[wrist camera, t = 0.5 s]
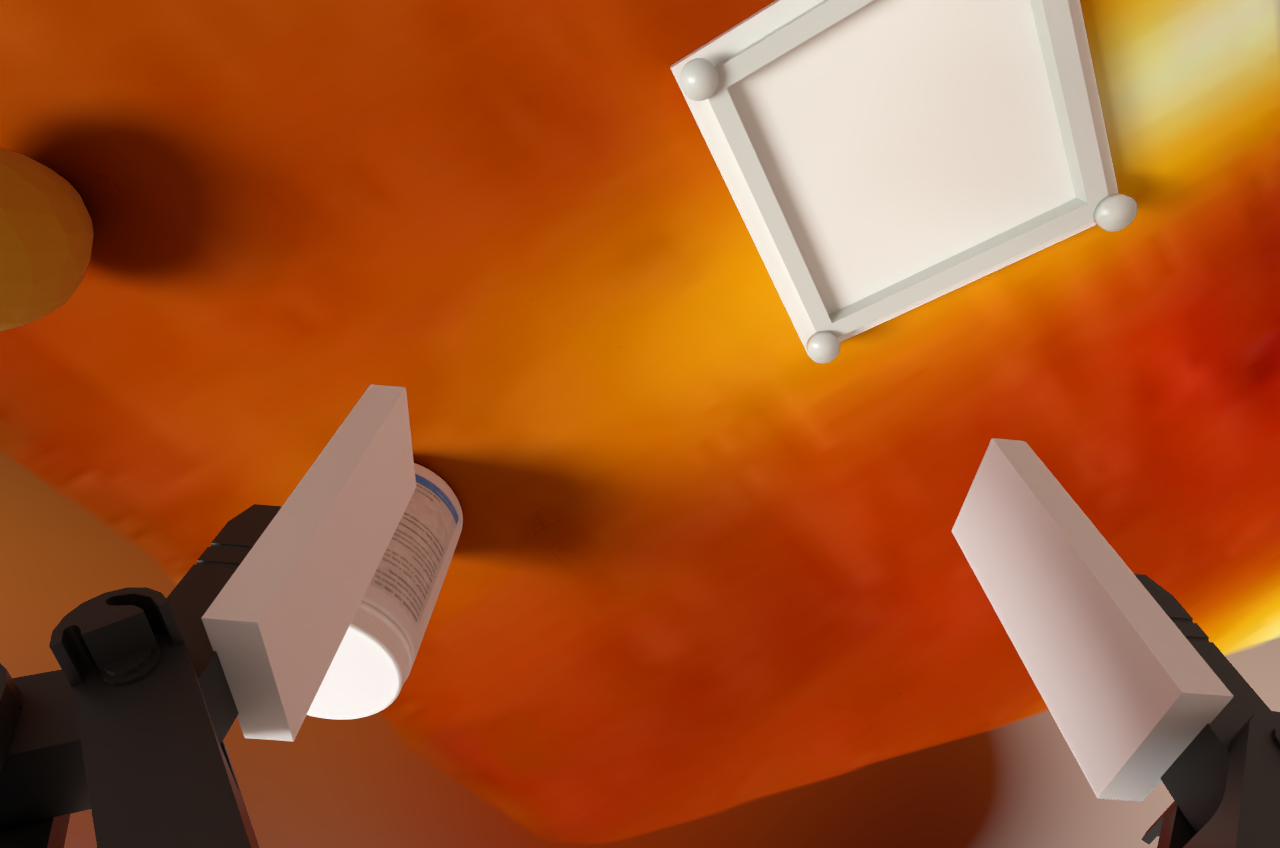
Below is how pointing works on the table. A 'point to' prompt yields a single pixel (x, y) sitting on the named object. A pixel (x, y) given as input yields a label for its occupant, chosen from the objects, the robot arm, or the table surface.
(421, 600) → the supplement tub
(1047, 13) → the white square tray
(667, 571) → the table surface
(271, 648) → the robot arm
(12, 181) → the apple
